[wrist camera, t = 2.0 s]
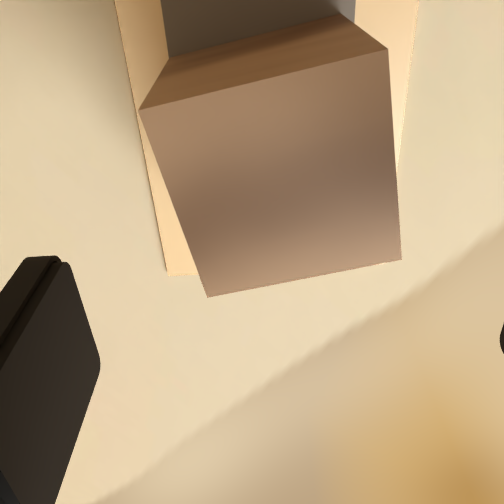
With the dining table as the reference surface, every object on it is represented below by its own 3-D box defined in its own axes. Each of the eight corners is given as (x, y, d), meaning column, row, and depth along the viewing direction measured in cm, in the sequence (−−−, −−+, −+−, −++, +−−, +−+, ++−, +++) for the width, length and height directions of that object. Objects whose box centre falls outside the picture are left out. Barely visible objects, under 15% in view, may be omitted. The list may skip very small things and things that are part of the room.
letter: (95, -104, 14) (93, -104, 14) (433, -127, 14) (435, -128, 14) (168, 273, 22) (168, 276, 21) (384, 261, 22) (385, 264, 21)
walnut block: (169, 57, 16) (137, 110, 11) (341, 13, 16) (387, 49, 11) (216, 205, 19) (207, 297, 14) (359, 174, 19) (401, 259, 14)
